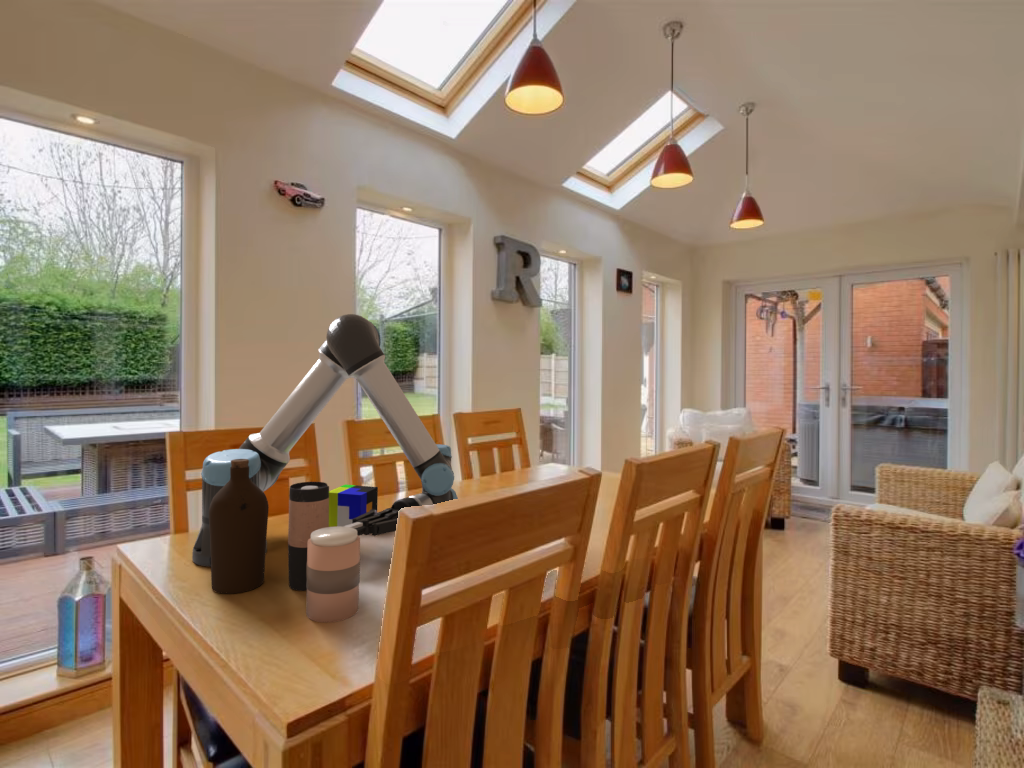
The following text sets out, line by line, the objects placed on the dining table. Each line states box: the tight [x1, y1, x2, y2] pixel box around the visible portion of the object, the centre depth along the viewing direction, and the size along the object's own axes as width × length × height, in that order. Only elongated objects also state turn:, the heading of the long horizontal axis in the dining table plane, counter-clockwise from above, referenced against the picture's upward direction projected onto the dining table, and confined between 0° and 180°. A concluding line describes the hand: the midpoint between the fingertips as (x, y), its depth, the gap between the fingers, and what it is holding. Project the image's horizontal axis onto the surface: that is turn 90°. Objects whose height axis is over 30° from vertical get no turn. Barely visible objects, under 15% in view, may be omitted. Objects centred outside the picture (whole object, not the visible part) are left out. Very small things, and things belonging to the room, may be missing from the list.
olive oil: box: [209, 459, 270, 595], centre depth 108 cm, size 11×11×25 cm
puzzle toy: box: [329, 484, 379, 527], centre depth 149 cm, size 10×10×10 cm
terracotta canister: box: [305, 526, 361, 623], centre depth 98 cm, size 9×9×14 cm
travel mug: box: [287, 481, 330, 592], centre depth 109 cm, size 8×8×20 cm
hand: (337, 535), depth 115 cm, fingers closed
